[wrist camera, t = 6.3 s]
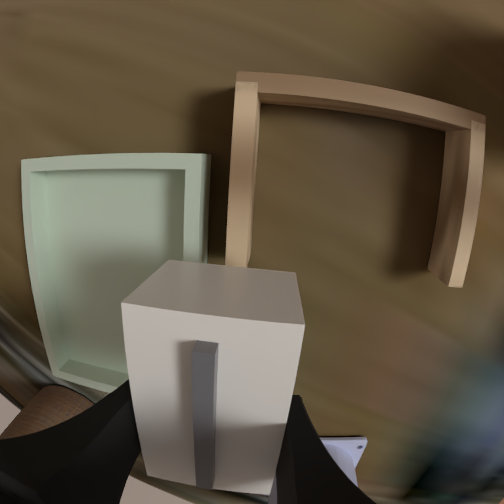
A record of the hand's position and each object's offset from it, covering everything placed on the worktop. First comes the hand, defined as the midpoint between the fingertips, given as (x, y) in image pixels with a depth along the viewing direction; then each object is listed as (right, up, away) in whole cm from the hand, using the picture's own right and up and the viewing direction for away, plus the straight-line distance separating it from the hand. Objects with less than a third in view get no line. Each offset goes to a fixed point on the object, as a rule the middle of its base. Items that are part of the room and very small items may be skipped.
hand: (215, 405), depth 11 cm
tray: (-7, +4, +8) cm, 12 cm away
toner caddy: (0, +1, +2) cm, 3 cm away
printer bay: (+7, +10, +6) cm, 13 cm away
